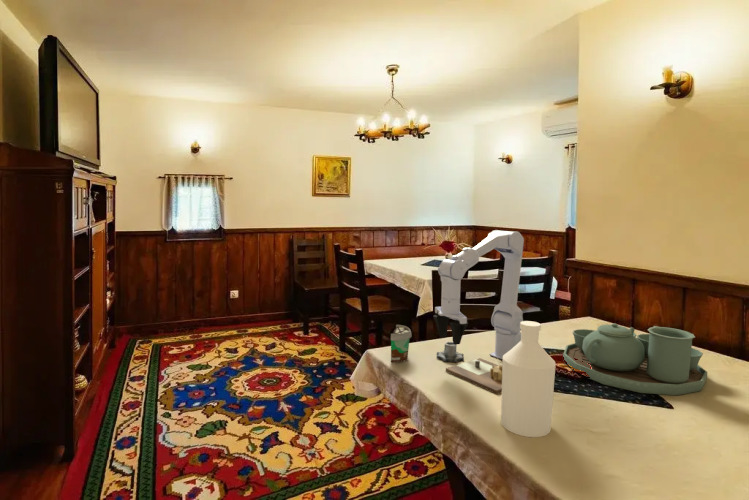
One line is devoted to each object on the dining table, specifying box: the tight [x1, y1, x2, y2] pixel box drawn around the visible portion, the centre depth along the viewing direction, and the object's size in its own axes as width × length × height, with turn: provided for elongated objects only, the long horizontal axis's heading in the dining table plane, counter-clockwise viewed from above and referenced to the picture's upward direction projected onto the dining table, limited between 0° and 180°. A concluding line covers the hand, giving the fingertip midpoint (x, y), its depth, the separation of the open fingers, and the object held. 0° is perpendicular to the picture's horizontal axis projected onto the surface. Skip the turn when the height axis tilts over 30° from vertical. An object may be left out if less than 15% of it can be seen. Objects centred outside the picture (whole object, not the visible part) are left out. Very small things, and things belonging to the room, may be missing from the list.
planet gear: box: [436, 341, 465, 364], centre depth 150 cm, size 9×9×5 cm
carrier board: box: [445, 357, 503, 395], centre depth 135 cm, size 16×20×4 cm
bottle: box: [500, 320, 557, 438], centre depth 104 cm, size 12×12×25 cm
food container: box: [390, 324, 412, 363], centre depth 149 cm, size 12×6×10 cm, turn 168°
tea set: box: [562, 322, 708, 396], centre depth 141 cm, size 40×40×16 cm
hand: (449, 340), depth 137 cm, fingers open, 7 cm apart
